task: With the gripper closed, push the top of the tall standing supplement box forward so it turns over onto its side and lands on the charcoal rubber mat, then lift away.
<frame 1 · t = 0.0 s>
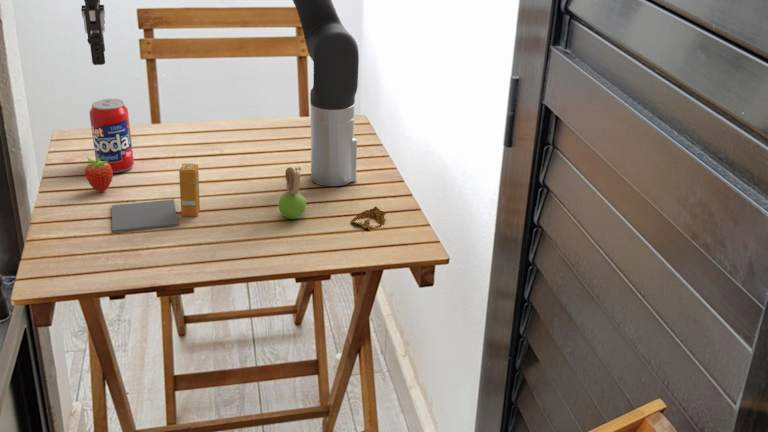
hand: (99, 57, 157), 29 cm above the table, fingers open, 8 cm apart
soda can: (115, 169, 183), on the table
supplement box: (191, 213, 165), on the table
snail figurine: (293, 219, 164), on the table
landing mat: (144, 216, 163), on the table
fruit: (101, 193, 172), on the table
leaf: (368, 224, 164), on the table
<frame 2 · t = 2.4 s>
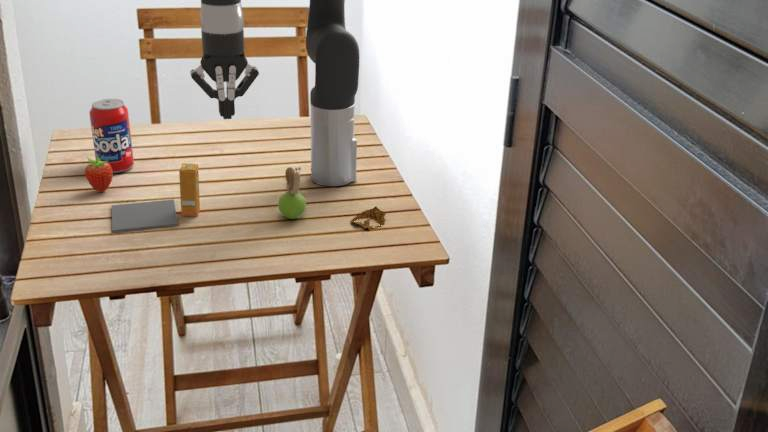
hand: (226, 117, 159), 19 cm above the table, fingers closed
nothing on the table moved.
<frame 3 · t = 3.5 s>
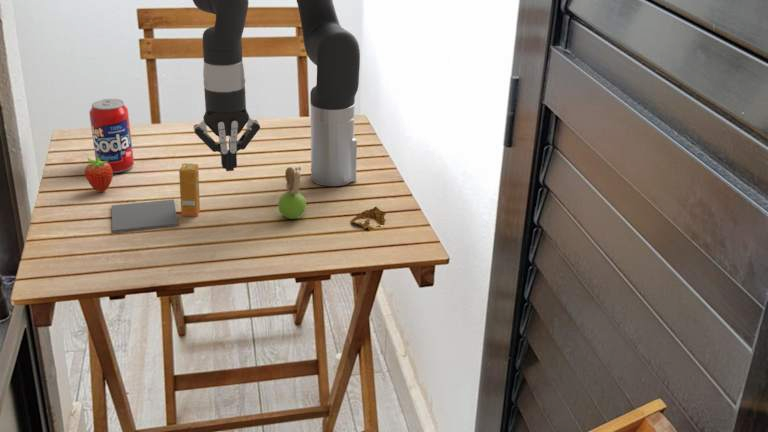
hand: (229, 169, 163), 9 cm above the table, fingers closed
nothing on the table moved.
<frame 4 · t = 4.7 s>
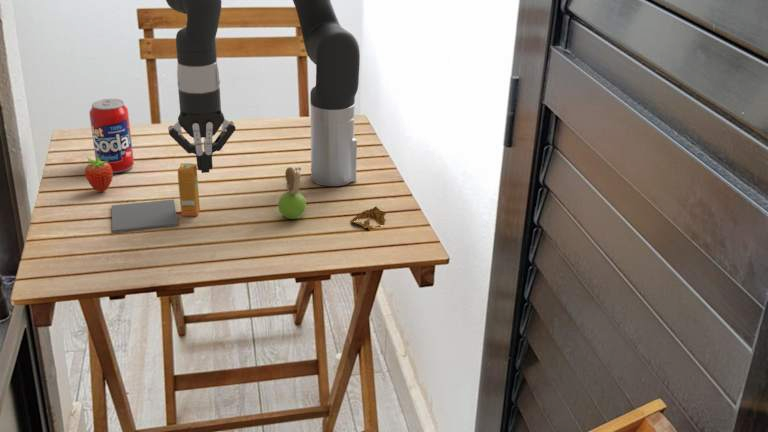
hand: (205, 171, 162), 9 cm above the table, fingers closed
supplement box: (191, 213, 165), on the table, touching gripper
everything else where it was.
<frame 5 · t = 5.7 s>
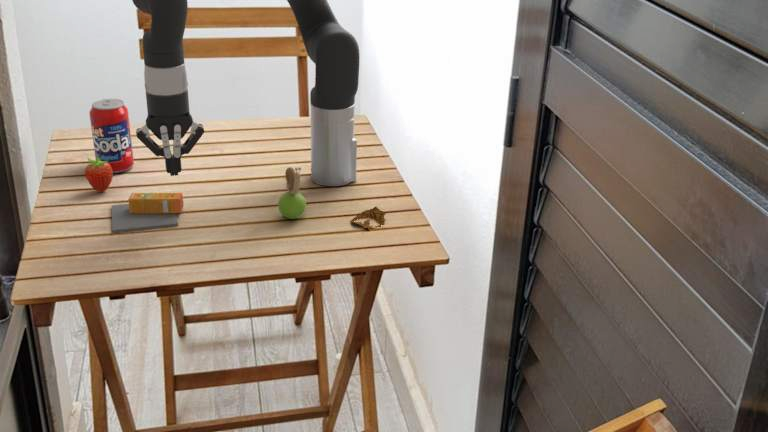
hand: (173, 174, 160), 9 cm above the table, fingers closed
supplement box: (182, 201, 164), point 2 cm above the table, touching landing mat
everything else where it was.
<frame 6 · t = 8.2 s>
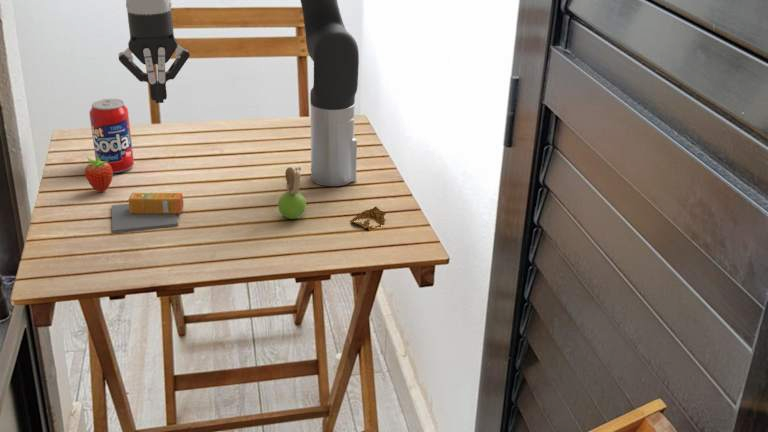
hand: (159, 101, 154), 23 cm above the table, fingers closed
nothing on the table moved.
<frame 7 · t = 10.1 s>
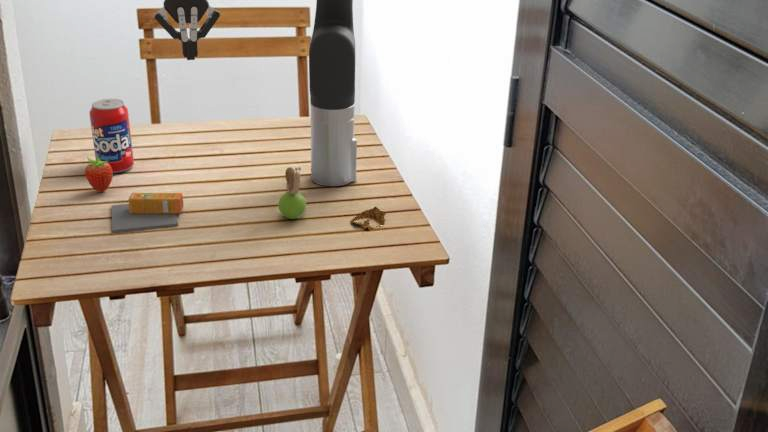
hand: (190, 58, 166), 27 cm above the table, fingers closed
nothing on the table moved.
at the end: supplement box tilted 92°; supplement box touching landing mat; supplement box moved 2.8 cm from its start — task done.
